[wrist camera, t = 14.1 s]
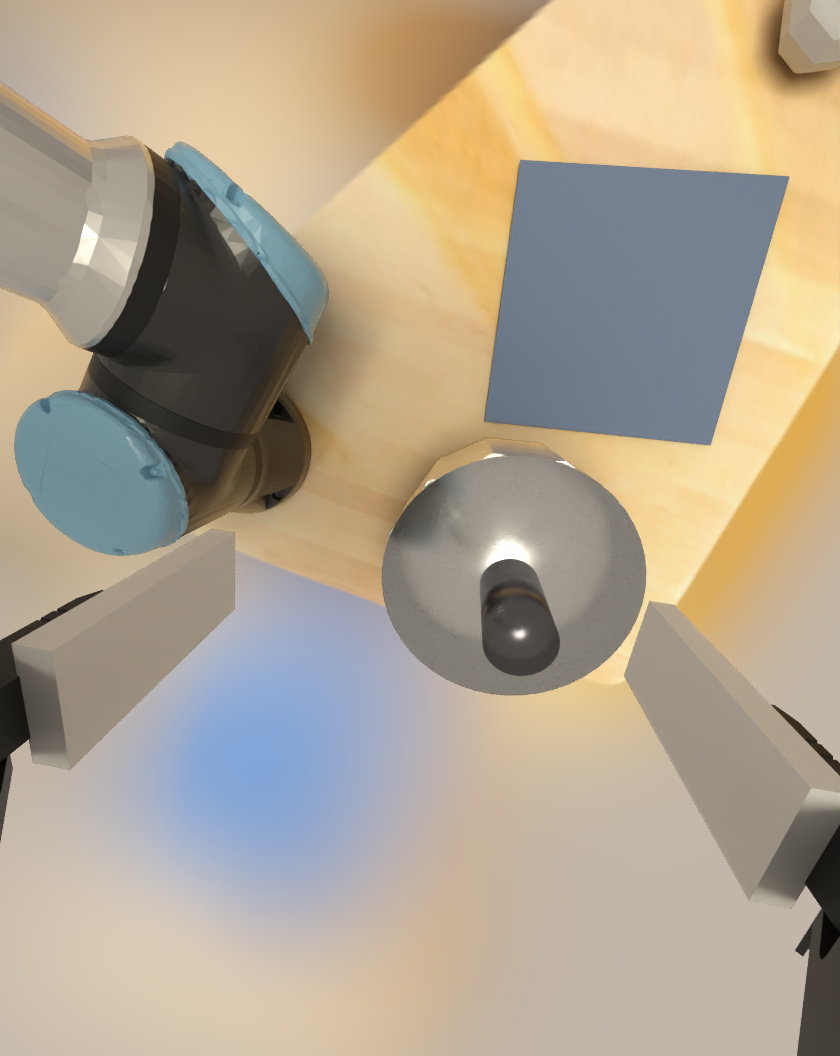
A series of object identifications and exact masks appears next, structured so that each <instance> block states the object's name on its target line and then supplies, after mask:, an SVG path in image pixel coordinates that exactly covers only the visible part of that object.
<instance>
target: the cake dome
mask: <svg viewBox="0 0 840 1056" xmlns="http://www.w3.org/2000/svg"><path fill="white" fill-rule="evenodd" d="M645 587H646V564H645V555H644V551H643V547H642V543H641V539H640V537H639V535H638V532H637V530H636V528H635V525H634V523H633V522H632V520H631V518H630V517H629V515H628V513H627V512H626V510H625V509H624V507H623V504H621V503H620V502H619V501H617V499H616V498H615V497H614V496H613V495H612V494H611V493H610V492H609V491H608V490H606V489H605V488H604V487H603V486H602V485H601V484H600V483H598V482H597V481H595V480H594V479H592V478H591V477H589V476H588V475H586V474H585V473H583V472H581V471H579V470H577V469H575V468H574V467H573V466H571V465H570V464H569V463H567V462H566V461H565V460H563V459H562V458H561V457H559V456H558V455H557V454H555V453H554V452H552V451H551V450H550V449H548V448H547V447H546V446H544V445H543V444H542V443H533V442H524V441H515V440H505V439H496V438H485V439H483V440H481V441H478V442H476V443H474V444H471V445H469V446H467V447H465V448H462V449H460V450H458V451H455V452H453V453H451V454H449V455H446V456H444V457H442V458H439V459H438V460H437V462H436V463H435V464H434V466H433V467H432V468H431V470H430V471H429V472H428V474H427V475H426V477H425V478H424V479H423V481H422V482H421V483H420V485H419V486H418V488H417V489H416V490H415V492H414V493H413V494H412V496H411V497H410V498H409V500H408V502H407V503H406V505H405V507H404V509H403V510H402V512H401V514H400V516H399V517H398V519H397V521H396V523H395V524H394V526H393V528H392V530H391V531H390V533H389V538H388V543H387V546H386V550H385V553H384V559H383V566H382V588H383V596H384V601H385V605H386V608H387V612H388V614H389V617H390V619H391V622H392V624H393V626H394V628H395V630H396V631H397V633H398V635H399V637H400V638H401V640H402V641H403V642H404V644H405V645H406V646H407V648H408V649H409V650H410V651H411V652H412V653H413V654H414V655H415V656H416V657H417V658H418V659H419V660H420V661H421V662H422V663H423V664H424V665H426V666H427V667H428V668H430V669H431V670H432V671H433V672H435V673H437V674H438V675H440V676H442V677H443V678H445V679H447V680H449V681H451V682H453V683H455V684H458V685H460V686H463V687H466V688H469V689H472V690H475V691H479V692H484V693H489V694H498V695H528V694H536V693H541V692H545V691H549V690H553V689H557V688H559V687H562V686H565V685H568V684H570V683H572V682H574V681H576V680H578V679H580V678H582V677H584V676H586V675H587V674H589V673H590V672H592V671H593V670H595V669H596V668H598V667H599V666H600V665H601V664H602V663H604V662H605V661H606V660H607V659H608V658H610V656H611V655H612V654H613V653H614V652H615V651H616V650H617V649H618V648H619V647H620V646H621V644H622V643H623V641H624V640H625V639H626V637H627V636H628V634H629V633H630V631H631V629H632V627H633V625H634V623H635V621H636V620H637V617H638V614H639V611H640V609H641V606H642V603H643V598H644V593H645Z"/></svg>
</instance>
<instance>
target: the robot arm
mask: <svg viewBox="0 0 840 1056" xmlns="http://www.w3.org/2000/svg"><path fill="white" fill-rule="evenodd" d="M0 288H2V289H4V290H7V291H9V292H12V293H15V294H17V295H19V296H22V297H24V298H27V299H30V300H32V301H35V302H37V303H39V304H40V305H41V306H42V307H43V308H44V309H45V310H46V311H47V312H48V313H49V315H50V316H51V318H52V319H53V321H54V322H55V323H56V325H57V326H58V328H59V329H60V330H61V332H62V333H63V335H64V336H65V338H66V339H67V340H68V342H69V343H71V344H73V345H75V346H77V347H79V348H82V349H85V350H87V351H90V352H93V356H92V359H91V361H90V364H89V366H88V368H87V371H86V373H85V376H84V379H83V381H82V384H81V386H80V388H79V390H78V391H71V390H64V391H59V392H55V393H54V394H52V395H51V396H49V397H47V398H42V399H40V400H37V401H36V402H34V403H33V404H32V405H31V406H29V407H28V409H27V410H26V411H25V412H24V413H23V415H22V416H21V418H20V420H19V423H18V425H17V429H16V433H15V443H14V450H15V459H16V464H17V467H18V471H19V474H20V477H21V479H22V482H23V484H24V486H25V488H27V490H28V491H29V493H30V494H31V496H32V499H33V501H34V503H35V505H36V506H37V508H38V509H39V510H40V511H41V512H42V514H43V515H44V516H45V517H46V518H47V519H48V520H49V522H51V524H53V525H54V526H55V527H56V528H57V529H58V530H59V531H61V532H62V533H63V534H65V535H66V536H68V537H69V538H71V539H72V540H74V541H75V542H77V543H79V544H81V545H82V546H84V547H87V548H89V549H91V550H94V551H97V552H100V553H104V554H109V555H116V556H125V555H127V556H129V555H136V554H141V553H145V552H148V551H151V550H153V549H156V548H159V547H165V546H168V545H170V544H172V543H174V542H176V540H178V539H180V537H182V536H184V535H186V534H188V533H190V532H192V531H194V530H195V529H197V528H199V527H201V526H203V525H205V524H207V523H209V522H211V521H213V520H215V519H217V518H219V517H221V516H223V515H225V514H227V513H229V512H235V513H257V512H262V511H266V510H269V509H271V508H273V507H275V506H277V505H279V504H281V503H282V502H284V501H286V500H287V499H289V498H290V497H291V496H292V495H293V494H294V493H295V492H296V491H297V490H298V489H299V487H300V486H301V485H302V483H303V481H304V479H305V477H306V475H307V472H308V469H309V465H310V458H311V445H310V438H309V433H308V430H307V427H306V424H305V422H304V420H303V417H302V416H301V414H300V412H299V411H298V409H297V408H296V406H295V405H294V404H293V402H292V401H291V400H290V399H289V398H288V397H287V396H286V395H285V394H284V393H283V392H281V391H282V389H283V387H284V385H285V384H286V382H287V380H288V378H289V376H290V374H291V372H292V371H293V369H294V367H295V365H296V363H297V361H298V359H299V358H300V356H301V354H302V352H303V350H304V348H305V346H306V345H310V344H311V343H312V341H313V332H314V330H315V328H316V326H317V324H318V322H319V320H320V318H321V316H322V314H323V312H324V309H325V307H326V305H327V303H328V298H329V290H328V283H327V280H326V278H325V276H324V274H323V272H322V270H321V269H320V267H319V266H318V265H317V263H316V262H315V261H314V260H313V258H312V257H311V256H310V255H309V254H308V253H307V252H306V251H305V249H304V248H303V247H302V246H301V245H300V244H299V243H298V242H297V241H296V240H295V239H294V238H293V237H292V236H291V235H290V234H289V233H288V232H287V231H286V230H285V229H284V228H283V227H282V226H281V225H280V224H279V223H278V222H277V221H276V220H275V219H274V218H273V217H272V216H271V215H270V214H269V213H268V212H267V211H266V210H265V209H264V208H263V207H262V206H261V205H260V204H258V203H257V202H256V201H255V200H254V199H253V198H252V197H250V196H249V195H247V194H245V193H244V192H243V190H242V189H241V188H240V187H239V186H238V185H237V184H235V183H234V182H233V181H232V180H231V179H230V178H229V177H228V176H227V174H226V173H225V172H223V171H222V170H221V169H220V168H219V167H218V166H216V165H215V164H214V163H213V162H212V161H210V160H209V159H208V158H207V157H205V156H204V155H203V154H201V153H200V152H199V151H197V150H196V149H195V148H193V147H191V146H190V145H188V144H186V143H184V142H177V143H176V144H175V145H174V146H173V147H172V148H169V149H168V150H166V153H165V158H164V159H163V158H162V157H160V156H159V155H158V154H156V153H155V152H153V151H152V150H151V149H149V148H148V147H147V146H146V145H144V144H143V143H142V142H140V141H139V140H137V139H135V138H134V137H132V136H122V137H115V138H108V139H101V140H95V141H90V140H86V139H83V138H82V137H80V136H79V135H78V134H76V133H75V132H73V131H72V130H70V129H69V128H67V127H66V126H64V125H63V124H61V123H60V122H59V121H57V120H56V119H54V118H53V117H51V116H50V115H48V114H47V113H45V112H44V111H42V110H41V109H39V108H38V107H37V106H35V105H34V104H32V103H30V102H29V101H28V100H26V99H25V98H23V97H22V96H20V95H19V94H18V93H16V92H15V91H13V90H12V89H10V88H9V87H7V86H6V85H4V84H3V83H1V82H0ZM234 609H235V533H233V532H227V531H221V530H215V529H211V530H209V531H208V532H206V533H204V534H202V535H201V536H199V537H197V538H195V539H194V540H192V541H190V542H188V543H187V544H185V545H183V546H181V547H180V548H178V549H176V550H174V551H173V552H171V553H169V554H167V555H166V556H164V557H162V558H160V559H159V560H157V561H155V562H153V563H152V564H150V565H148V566H146V567H145V568H143V569H141V570H139V571H138V572H136V573H134V574H132V575H131V576H129V577H127V578H125V579H124V580H122V581H120V582H119V583H117V584H115V585H113V586H111V587H110V588H108V589H106V590H105V591H103V590H101V591H98V592H94V593H91V594H88V595H85V596H82V597H79V598H76V599H75V600H73V601H71V602H69V603H67V604H65V605H64V606H62V607H60V608H58V609H57V611H53V612H51V613H49V614H47V615H45V616H44V617H42V618H41V620H40V621H38V620H37V621H35V622H33V623H31V624H29V625H27V626H26V627H24V628H22V629H20V630H18V631H17V632H15V633H13V634H11V635H9V636H7V637H5V638H4V639H2V640H0V840H1V834H2V829H3V823H4V817H5V811H6V805H7V799H8V793H9V788H10V781H11V776H12V769H13V767H12V762H11V758H10V754H11V753H12V752H14V751H15V750H16V749H17V748H18V747H20V746H21V745H22V744H23V743H25V742H26V741H27V740H28V739H29V743H30V749H31V755H32V760H33V763H36V764H41V765H46V766H52V767H57V768H62V769H67V770H70V769H71V768H72V767H73V766H74V765H75V764H77V763H78V762H79V761H80V759H82V758H83V757H84V756H85V755H86V754H87V753H88V752H89V751H90V750H91V749H92V748H93V747H94V746H95V745H96V744H97V743H98V742H99V741H100V740H101V739H102V738H103V737H104V736H105V735H106V734H107V733H108V732H109V731H110V730H111V729H112V728H113V727H114V726H115V725H116V724H117V723H118V722H119V721H121V720H122V719H123V718H124V717H125V716H126V715H127V714H128V713H129V712H130V711H131V710H132V709H133V708H134V707H135V706H136V705H137V704H138V703H139V702H140V701H141V700H142V699H143V698H144V697H145V696H146V695H147V694H148V693H149V692H150V691H151V690H152V689H153V688H154V687H155V686H156V685H157V684H158V683H159V682H160V681H161V680H162V679H163V678H164V677H165V676H166V675H168V673H170V672H171V671H172V670H173V669H174V668H175V667H176V666H177V665H178V664H179V663H180V662H181V661H182V660H183V659H184V658H185V657H186V656H187V655H188V654H189V653H190V652H191V651H192V650H193V649H194V648H195V647H196V646H197V645H198V644H199V643H200V642H201V641H202V640H203V639H204V638H205V637H206V636H207V635H208V634H209V633H210V632H211V631H212V630H213V629H215V628H216V627H217V626H218V625H219V624H220V623H221V622H222V621H223V620H224V619H225V618H226V617H227V616H228V615H229V614H230V613H231V612H232V611H233V610H234ZM624 677H625V679H626V681H627V682H628V684H629V686H630V688H631V690H632V691H633V693H634V695H635V697H636V698H637V700H638V702H639V704H640V706H641V708H642V709H643V711H644V713H645V715H646V717H647V718H648V720H649V722H650V724H651V726H652V727H653V729H654V731H655V733H656V735H657V736H658V738H659V740H660V742H661V744H662V745H663V747H664V749H665V751H666V753H667V754H668V756H669V758H670V760H671V762H672V763H673V765H674V767H675V769H676V770H677V772H678V774H679V776H680V778H681V780H682V781H683V783H684V785H685V787H686V789H687V790H688V792H689V794H690V796H691V797H692V799H693V801H694V803H695V805H696V806H697V808H698V810H699V812H700V813H701V815H702V817H703V819H704V821H705V823H706V825H707V826H708V828H709V830H710V832H711V833H712V835H713V837H714V839H715V841H716V842H717V844H718V846H719V848H720V850H721V852H722V853H723V855H724V857H725V859H726V860H727V862H728V864H729V866H730V868H731V869H732V871H733V873H734V875H735V877H736V878H737V880H738V882H739V884H740V886H741V887H742V889H743V891H744V893H745V894H746V896H747V898H748V900H749V901H753V902H758V903H763V904H768V905H773V906H779V907H784V908H789V909H792V907H793V906H794V904H795V902H796V901H797V899H798V897H799V896H800V894H801V892H802V891H803V889H804V887H805V886H807V887H808V889H809V890H810V892H811V893H812V895H813V896H814V898H815V899H816V900H817V902H818V903H819V905H820V906H821V908H822V909H821V911H820V912H819V913H818V915H817V917H816V918H815V920H814V921H813V923H812V924H811V926H810V928H809V929H808V931H807V933H806V934H805V935H804V937H803V939H802V940H801V942H800V943H799V945H798V947H797V948H796V950H795V951H796V952H798V953H799V954H800V955H802V956H804V954H805V953H806V951H807V950H808V949H810V951H809V959H808V968H807V976H806V985H805V993H804V1001H803V1010H802V1018H801V1027H800V1036H799V1044H798V1052H797V1056H840V763H839V762H838V761H837V760H833V756H832V755H831V754H830V753H829V752H828V751H827V750H826V749H825V748H824V747H823V746H822V745H821V744H818V743H817V740H816V739H815V738H814V737H813V736H812V735H811V734H810V733H809V732H808V731H807V730H806V729H805V728H804V727H803V726H802V725H801V724H800V723H799V722H798V721H796V720H795V719H793V718H792V717H791V716H789V715H788V714H786V713H785V712H784V711H782V710H781V709H779V708H778V707H776V706H775V705H771V704H770V703H769V702H768V701H767V700H766V699H765V698H764V697H763V696H762V695H761V694H760V693H759V692H758V691H757V690H756V689H755V688H754V687H753V686H752V685H751V684H750V683H749V682H748V681H747V680H746V679H745V677H744V676H743V675H742V674H741V673H740V672H739V671H738V670H737V669H736V668H735V667H734V666H733V665H732V664H731V663H730V662H729V661H728V660H727V659H726V658H725V657H724V656H723V655H722V654H721V653H720V652H719V651H718V650H717V649H716V648H715V646H714V645H713V644H712V643H711V642H710V641H709V640H708V639H707V638H706V637H705V636H704V635H703V634H702V633H701V632H700V631H699V630H698V629H697V628H696V627H695V626H694V625H693V624H692V623H691V622H690V621H689V620H688V618H687V617H685V615H684V614H683V613H682V612H681V611H680V610H679V609H678V608H677V607H676V606H675V605H671V604H664V603H658V602H652V601H649V604H648V606H647V609H646V612H645V615H644V618H643V621H642V624H641V627H640V630H639V633H638V636H637V639H636V642H635V645H634V648H633V651H632V654H631V657H630V659H629V662H628V665H627V668H626V671H625V674H624Z"/></svg>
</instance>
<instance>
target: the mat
mask: <svg viewBox="0 0 840 1056" xmlns="http://www.w3.org/2000/svg"><path fill="white" fill-rule="evenodd" d="M788 180H789V176H773V175H756V174H740V173H724V172H707V171H691V170H675V169H659V168H642V167H626V166H610V165H593V164H577V163H561V162H545V161H528V160H520V166H519V173H518V180H517V187H516V195H515V202H514V209H513V217H512V224H511V231H510V238H509V246H508V253H507V260H506V267H505V275H504V282H503V289H502V297H501V304H500V311H499V318H498V326H497V333H496V340H495V348H494V355H493V362H492V369H491V377H490V384H489V391H488V399H487V406H486V413H485V420H484V421H487V422H496V423H506V424H515V425H525V426H534V427H543V428H553V429H562V430H572V431H581V432H591V433H600V434H610V435H619V436H628V437H638V438H647V439H657V440H666V441H676V442H685V443H694V444H704V445H711V442H712V438H713V435H714V431H715V428H716V425H717V421H718V418H719V415H720V411H721V408H722V404H723V401H724V398H725V394H726V391H727V387H728V384H729V381H730V377H731V374H732V370H733V367H734V364H735V360H736V357H737V353H738V350H739V347H740V343H741V340H742V336H743V333H744V330H745V326H746V323H747V319H748V316H749V313H750V309H751V306H752V302H753V299H754V296H755V292H756V289H757V286H758V282H759V279H760V275H761V272H762V269H763V265H764V262H765V258H766V255H767V252H768V248H769V245H770V241H771V238H772V235H773V231H774V228H775V224H776V221H777V218H778V214H779V211H780V207H781V204H782V201H783V197H784V194H785V190H786V187H787V184H788Z"/></svg>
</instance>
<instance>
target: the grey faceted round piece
mask: <svg viewBox="0 0 840 1056" xmlns="http://www.w3.org/2000/svg"><path fill="white" fill-rule="evenodd" d="M778 54H779V55H780V56H781V57H782V59H783V60H784V61H785V62H786V64H787V65H788V66H789V67H790V69H791V70H792V71H793V72H794V73H809V72H817V71H825V70H834V69H838V68H840V0H785V2H784V9H783V17H782V25H781V33H780V41H779V49H778Z"/></svg>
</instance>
